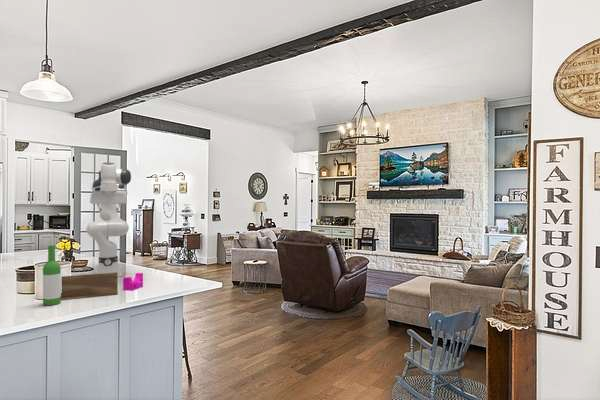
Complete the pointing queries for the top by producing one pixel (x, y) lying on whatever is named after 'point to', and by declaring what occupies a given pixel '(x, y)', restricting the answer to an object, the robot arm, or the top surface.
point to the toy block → (133, 282)
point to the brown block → (89, 285)
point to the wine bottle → (51, 279)
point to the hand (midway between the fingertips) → (109, 211)
